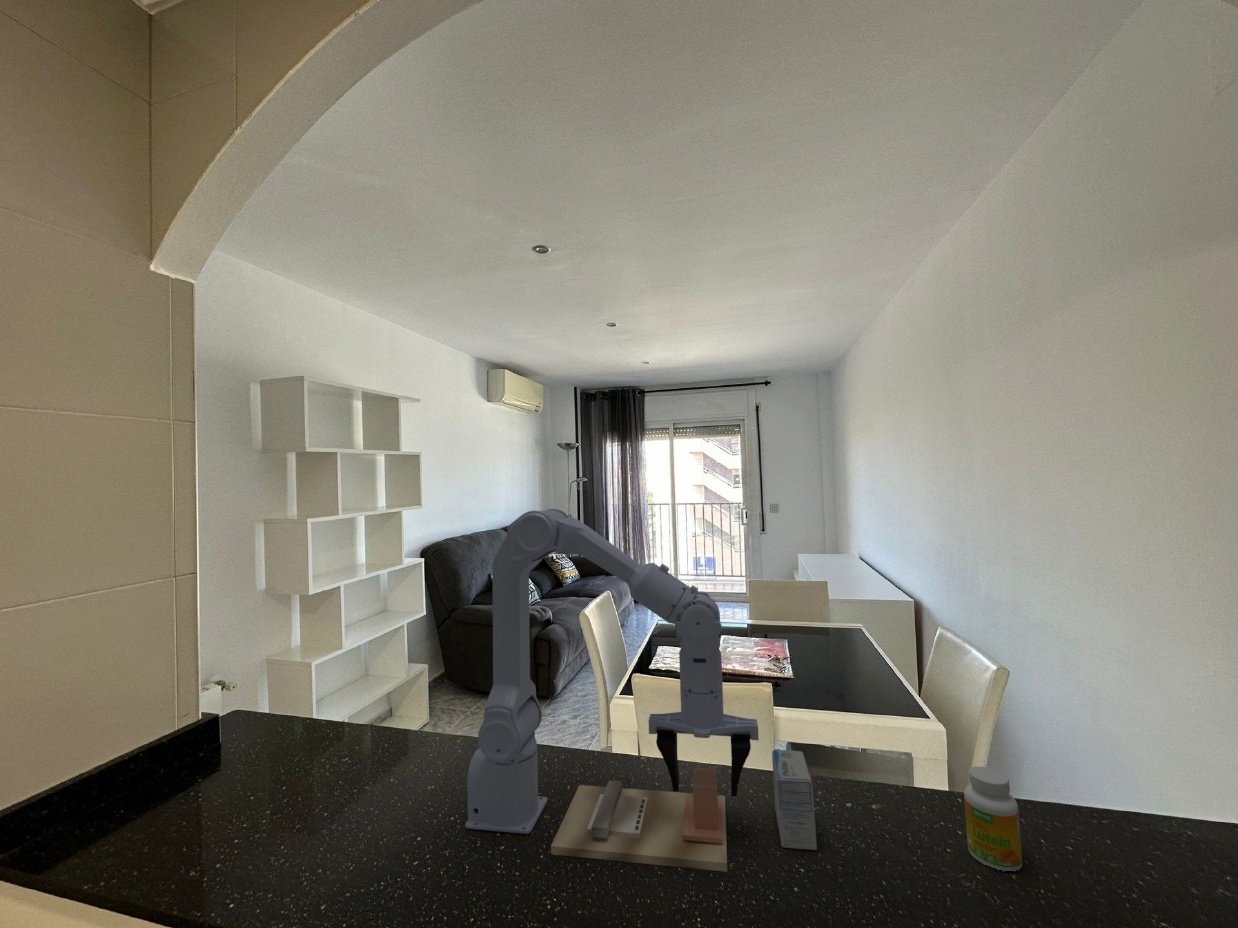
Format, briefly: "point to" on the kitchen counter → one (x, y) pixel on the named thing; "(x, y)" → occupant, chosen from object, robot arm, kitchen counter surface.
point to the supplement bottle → (992, 820)
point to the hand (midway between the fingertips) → (704, 789)
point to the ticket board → (635, 829)
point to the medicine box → (794, 800)
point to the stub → (703, 809)
